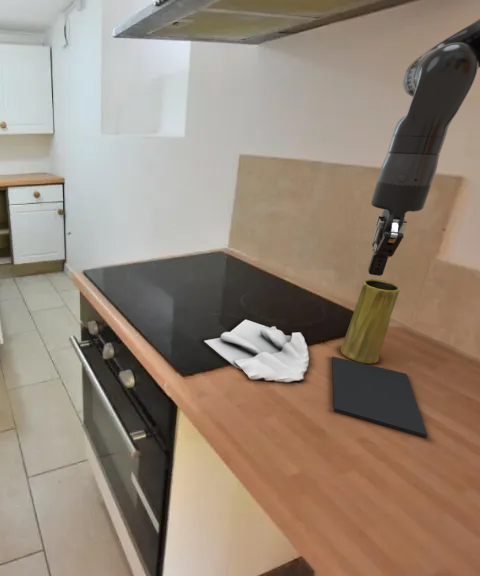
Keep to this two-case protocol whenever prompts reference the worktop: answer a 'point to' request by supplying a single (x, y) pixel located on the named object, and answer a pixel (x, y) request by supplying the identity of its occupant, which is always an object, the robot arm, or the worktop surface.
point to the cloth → (263, 352)
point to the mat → (375, 396)
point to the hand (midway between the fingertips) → (374, 273)
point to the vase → (370, 321)
